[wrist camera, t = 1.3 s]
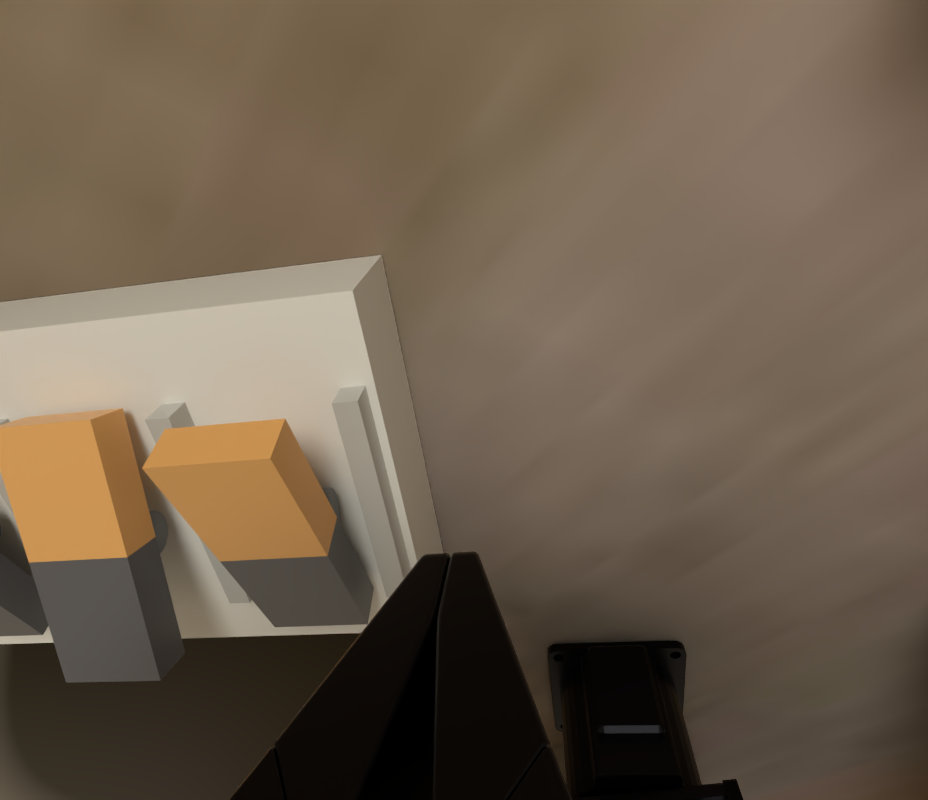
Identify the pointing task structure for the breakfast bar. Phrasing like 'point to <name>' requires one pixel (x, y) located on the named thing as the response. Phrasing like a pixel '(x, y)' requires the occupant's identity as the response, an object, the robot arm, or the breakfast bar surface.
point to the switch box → (238, 407)
